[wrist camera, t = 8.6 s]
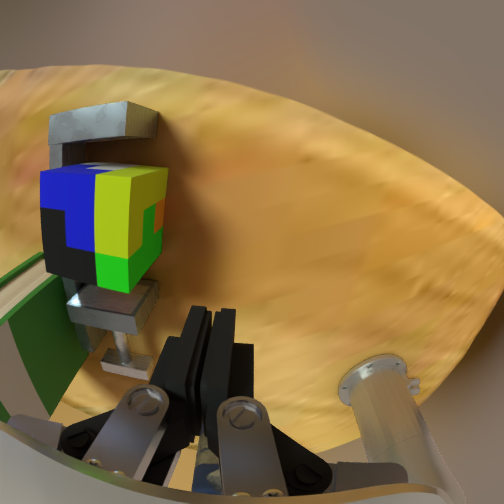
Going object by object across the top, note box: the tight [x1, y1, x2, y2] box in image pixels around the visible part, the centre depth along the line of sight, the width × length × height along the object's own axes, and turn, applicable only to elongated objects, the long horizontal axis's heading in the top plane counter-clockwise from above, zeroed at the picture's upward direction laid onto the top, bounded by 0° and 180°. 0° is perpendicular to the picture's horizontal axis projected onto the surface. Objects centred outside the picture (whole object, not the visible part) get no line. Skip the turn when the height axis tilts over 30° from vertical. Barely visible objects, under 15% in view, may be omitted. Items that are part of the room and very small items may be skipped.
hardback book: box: [0, 252, 89, 424], centre depth 23 cm, size 18×7×24 cm, turn 168°
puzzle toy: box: [40, 162, 169, 294], centre depth 25 cm, size 10×10×10 cm
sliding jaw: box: [66, 279, 159, 381], centre depth 31 cm, size 9×12×8 cm
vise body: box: [48, 101, 158, 353], centre depth 27 cm, size 12×30×8 cm, turn 176°
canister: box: [192, 423, 222, 495], centre depth 35 cm, size 10×10×18 cm
